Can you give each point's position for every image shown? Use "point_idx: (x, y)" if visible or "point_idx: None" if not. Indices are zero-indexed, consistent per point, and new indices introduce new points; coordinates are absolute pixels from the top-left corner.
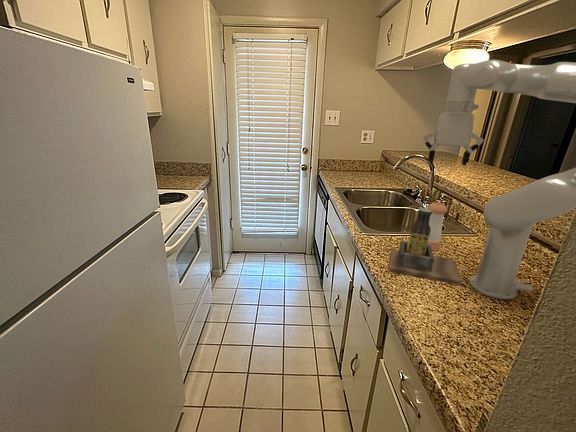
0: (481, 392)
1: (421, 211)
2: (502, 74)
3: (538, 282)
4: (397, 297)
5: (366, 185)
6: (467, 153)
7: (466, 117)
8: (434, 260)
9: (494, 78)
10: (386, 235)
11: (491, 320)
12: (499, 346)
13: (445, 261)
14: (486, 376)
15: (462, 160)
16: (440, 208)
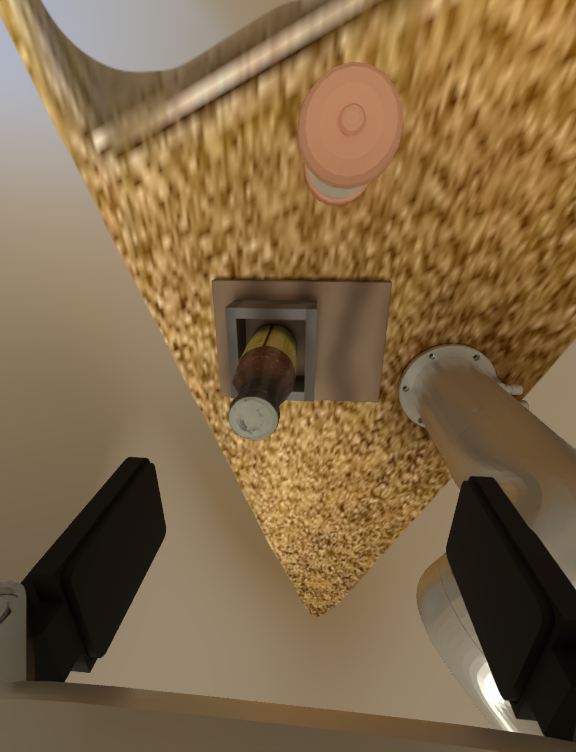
0: (337, 593)
1: (238, 433)
2: None
3: None
4: (247, 472)
5: None
6: (523, 712)
7: None
8: (332, 314)
9: None
10: (182, 119)
11: (396, 488)
12: (384, 535)
13: (362, 309)
14: (349, 576)
15: (477, 518)
16: (357, 175)
